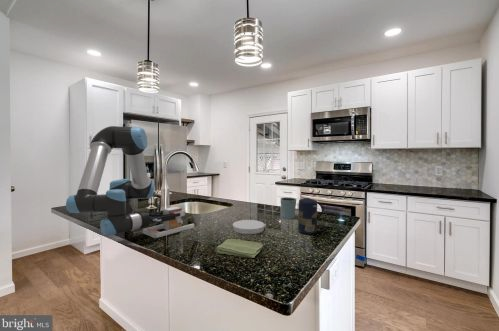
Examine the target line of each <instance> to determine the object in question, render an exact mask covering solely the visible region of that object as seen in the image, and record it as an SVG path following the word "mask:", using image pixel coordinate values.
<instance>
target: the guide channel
mask: <svg viewBox="0 0 499 331" xmlns="http://www.w3.org/2000/svg"><path fill="white" fill-rule="evenodd" d="M183 223H184V222H183V219H182V224H183ZM194 228H195V223H190V224H186V225H183V226H182V227H178V228H174V229H170V230H166V229H165V230H163V223H161V224H158V225H154V226H148V227H145V228H142V234H144V235H146V236H149V237H151V238H153V239H158V238H161V237H164V236H169V235H171V234H176V233H178V232H183V231H186V230H190V229H194ZM152 230H157V231H159V230H163V231H159V233H154V232H151V231H152Z"/></svg>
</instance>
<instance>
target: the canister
mask: <svg viewBox="0 0 499 331" xmlns="http://www.w3.org/2000/svg"><path fill="white" fill-rule="evenodd" d="M297 208H298V211H297V213H298V214H297V216H298V218H297V221H298V222H297V223H298V224H297V229H298V230H297V231H298V232H300V233H302V234H306V235H312V234H315V233H317V229H318V228H317V227H318V226H317V225H318V200H316V199H312V198H310V197H305V198H300V199H298V207H297Z"/></svg>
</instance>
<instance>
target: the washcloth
mask: <svg viewBox="0 0 499 331" xmlns="http://www.w3.org/2000/svg"><path fill="white" fill-rule="evenodd" d="M263 248H264V244H262V243H260V242H256V241H249V240H242V239H241V240H240V239H235V238H227V239H225V241H223V243H221V244H218V246H216V248H215V250H214V251H215V253H217V254H219V255H224V254H226V256H231V255H234V256H233V257H238V258H247V259H252V258H254V259H255V258H256V256H257V255H258V254H259V253H260V252H261V251H262V249H263Z"/></svg>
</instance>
